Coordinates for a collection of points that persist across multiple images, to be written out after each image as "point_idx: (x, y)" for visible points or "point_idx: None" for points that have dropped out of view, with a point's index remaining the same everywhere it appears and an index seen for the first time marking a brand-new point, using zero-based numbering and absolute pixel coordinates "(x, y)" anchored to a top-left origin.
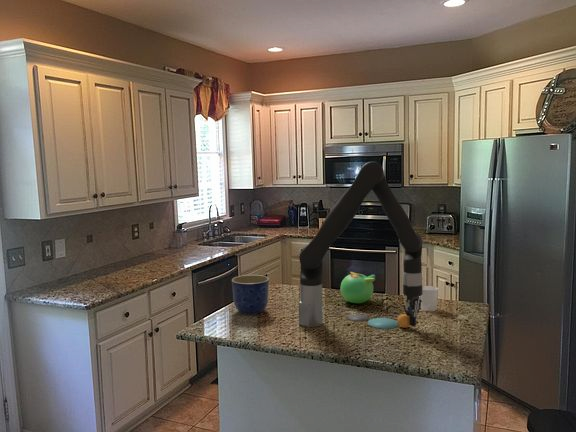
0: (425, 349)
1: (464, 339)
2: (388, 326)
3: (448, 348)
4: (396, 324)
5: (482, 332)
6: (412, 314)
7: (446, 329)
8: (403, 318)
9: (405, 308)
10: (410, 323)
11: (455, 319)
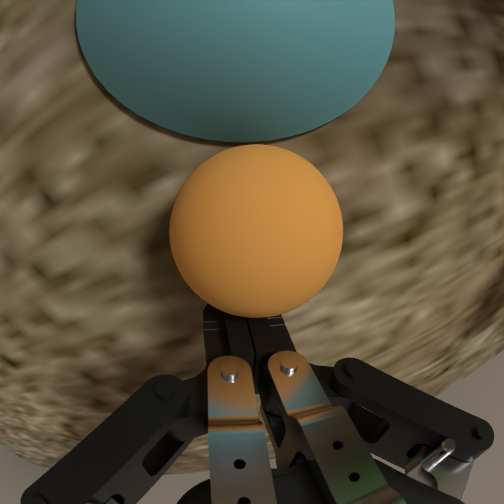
0: (26, 401)
1: None
2: (166, 64)
3: None
4: (275, 110)
5: None
6: (157, 445)
7: None
8: (190, 277)
9: (41, 499)
10: (203, 315)
11: (454, 346)
